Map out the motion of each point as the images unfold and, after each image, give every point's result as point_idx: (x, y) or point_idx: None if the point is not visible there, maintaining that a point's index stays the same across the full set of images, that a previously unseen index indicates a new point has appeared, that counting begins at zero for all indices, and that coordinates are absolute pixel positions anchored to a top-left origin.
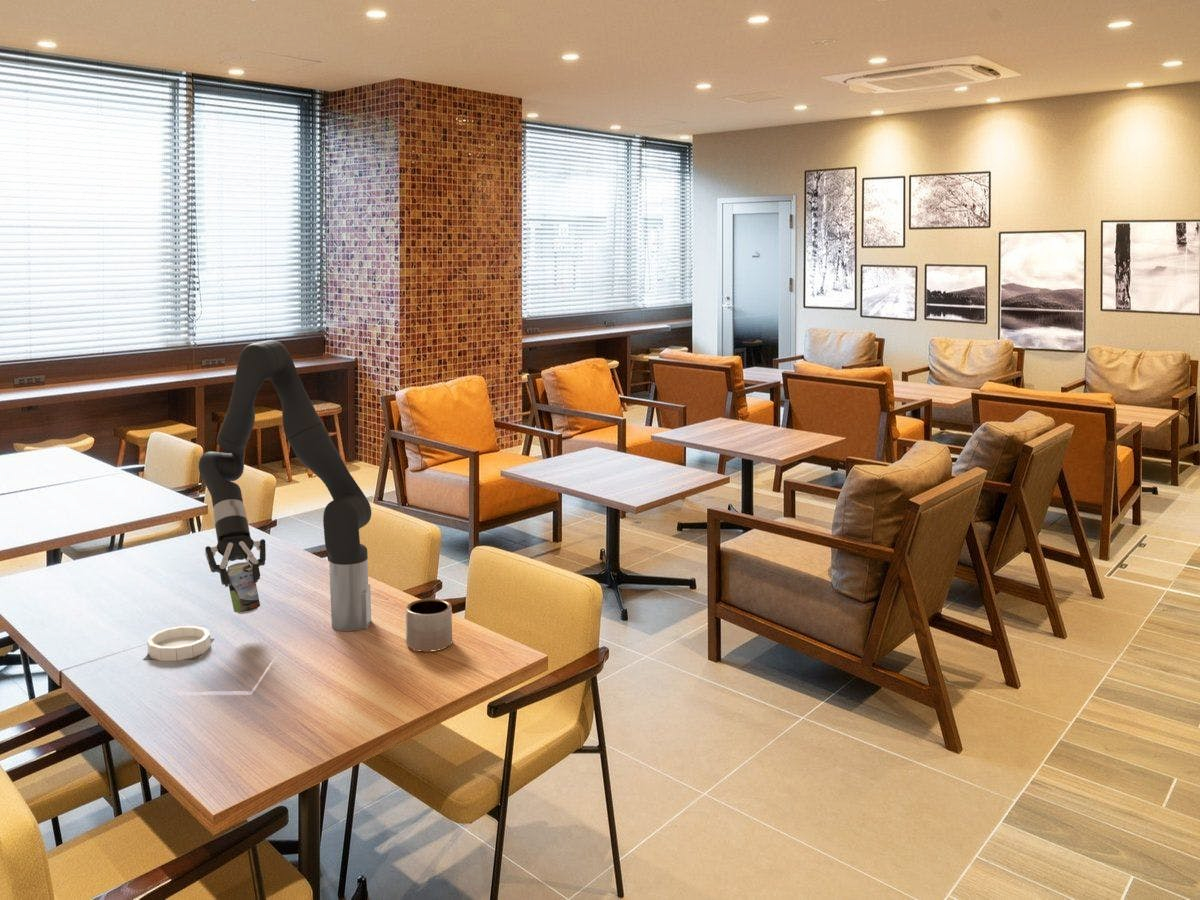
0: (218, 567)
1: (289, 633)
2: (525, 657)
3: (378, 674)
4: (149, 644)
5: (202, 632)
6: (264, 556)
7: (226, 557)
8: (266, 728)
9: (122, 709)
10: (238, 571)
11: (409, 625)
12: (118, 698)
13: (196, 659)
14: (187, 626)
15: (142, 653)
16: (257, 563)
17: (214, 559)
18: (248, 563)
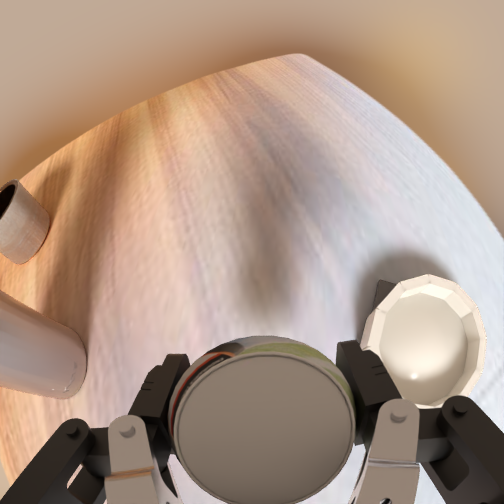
0: (422, 421)
1: None
2: None
3: (112, 169)
4: (478, 309)
5: None
6: (56, 439)
7: (384, 476)
8: (262, 96)
9: (432, 162)
10: (275, 342)
11: (29, 205)
12: (451, 189)
13: (381, 280)
14: None
15: None
16: (121, 417)
17: (473, 452)
18: (180, 425)
